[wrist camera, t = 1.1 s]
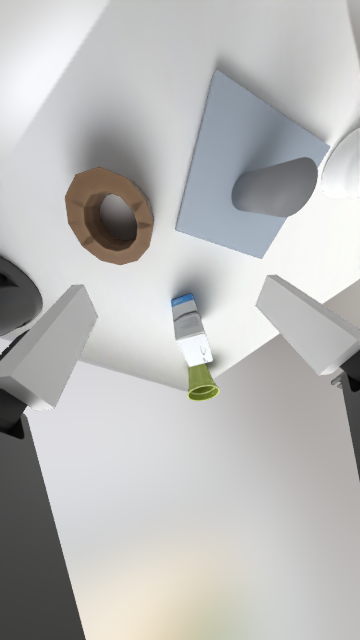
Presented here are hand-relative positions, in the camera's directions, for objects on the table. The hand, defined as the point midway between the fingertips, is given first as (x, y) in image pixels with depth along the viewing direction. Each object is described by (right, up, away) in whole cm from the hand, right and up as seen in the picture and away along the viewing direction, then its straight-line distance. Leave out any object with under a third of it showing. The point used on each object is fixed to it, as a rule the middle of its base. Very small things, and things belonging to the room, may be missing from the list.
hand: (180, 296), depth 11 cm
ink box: (+1, 0, +23) cm, 23 cm away
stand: (+9, +17, +10) cm, 22 cm away
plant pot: (+6, -17, +38) cm, 42 cm away
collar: (-9, +13, +11) cm, 19 cm away
